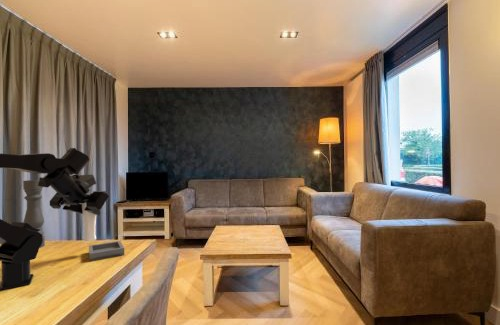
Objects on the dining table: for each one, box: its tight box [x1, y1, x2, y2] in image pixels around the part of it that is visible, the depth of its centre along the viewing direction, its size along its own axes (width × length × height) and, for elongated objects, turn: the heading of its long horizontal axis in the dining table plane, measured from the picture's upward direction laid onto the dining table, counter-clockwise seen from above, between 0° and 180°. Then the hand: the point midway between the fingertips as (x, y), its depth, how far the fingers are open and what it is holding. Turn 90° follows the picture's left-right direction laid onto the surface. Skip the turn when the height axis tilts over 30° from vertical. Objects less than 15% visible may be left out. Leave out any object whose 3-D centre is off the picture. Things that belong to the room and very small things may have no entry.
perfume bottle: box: [82, 202, 97, 242], centre depth 93 cm, size 5×4×15 cm
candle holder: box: [22, 179, 46, 249], centre depth 102 cm, size 6×6×25 cm
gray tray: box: [88, 240, 125, 262], centre depth 93 cm, size 10×10×2 cm
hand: (93, 214), depth 95 cm, fingers closed on perfume bottle, 4 cm apart
